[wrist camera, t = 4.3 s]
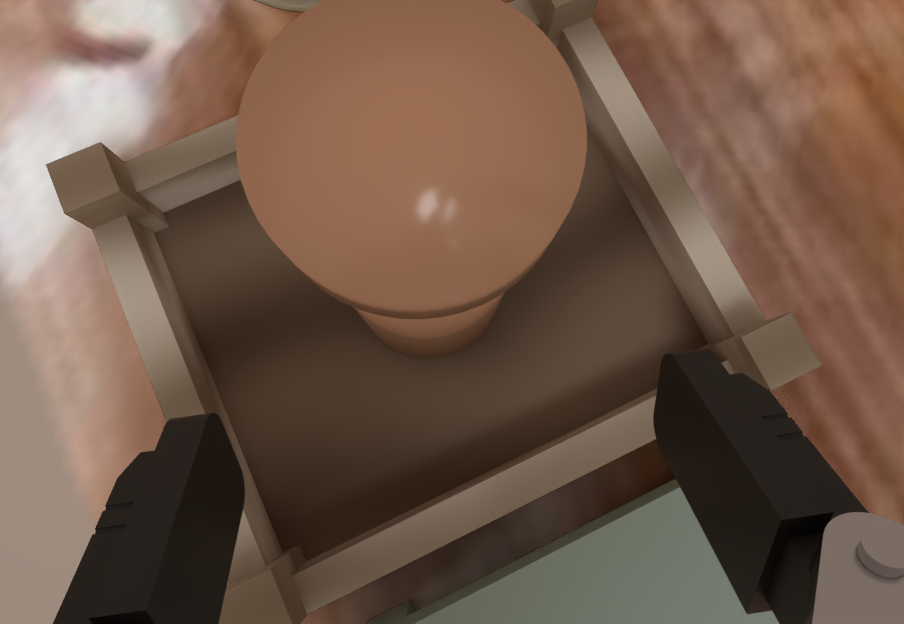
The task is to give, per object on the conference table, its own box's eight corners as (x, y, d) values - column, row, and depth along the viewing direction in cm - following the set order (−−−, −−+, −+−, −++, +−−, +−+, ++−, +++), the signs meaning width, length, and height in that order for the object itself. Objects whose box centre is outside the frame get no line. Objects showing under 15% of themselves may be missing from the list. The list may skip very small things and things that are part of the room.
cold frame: (113, 209, 23) (45, 164, 19) (556, 22, 25) (577, -54, 21) (273, 616, 20) (234, 662, 17) (754, 375, 22) (822, 365, 18)
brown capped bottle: (395, 183, 23) (345, -75, 11) (537, 254, 22) (643, 66, 11) (315, 321, 22) (168, 200, 10) (463, 399, 21) (489, 368, 10)
